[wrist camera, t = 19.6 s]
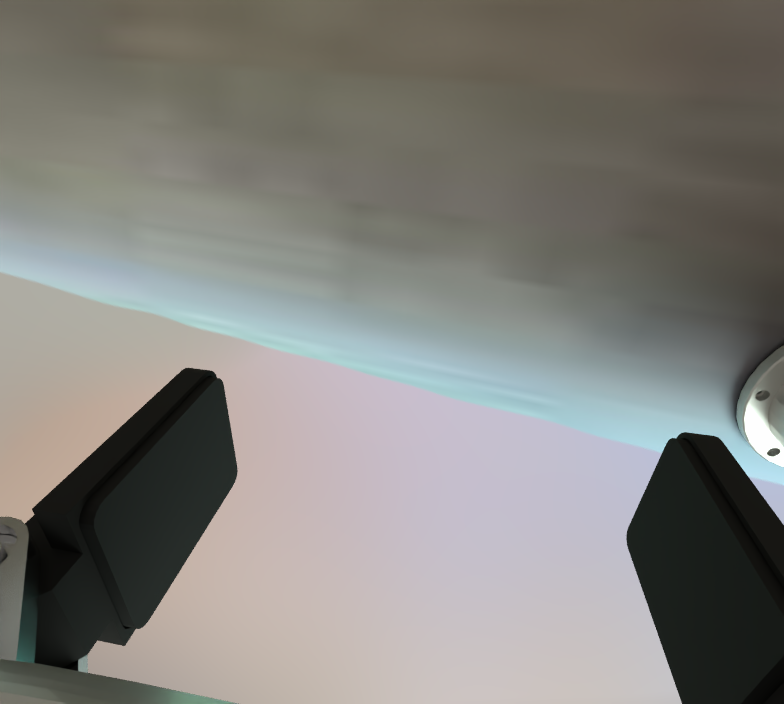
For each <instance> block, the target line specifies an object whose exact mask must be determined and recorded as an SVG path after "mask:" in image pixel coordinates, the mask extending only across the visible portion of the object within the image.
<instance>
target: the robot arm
mask: <svg viewBox="0 0 784 704" xmlns="http://www.w3.org/2000/svg"><path fill="white" fill-rule="evenodd" d="M736 418H737V422H738V426H739V430H740V432H741V433H742V435H743V437H744V438H745V440H746V441H747V442H748V443H749V445H750V446H751V447H752V448H753V449H754V451H755V452H757V453H758V454H759V455H760V456H761V457H763V458H764V459H766V460H768V461H770V462H772V463H774V464H776V465H778V466H782V467H784V345H783V346H782V347H780V348H779V349H777V350H776V351H775V352H773V353H772V354H771V355H770V356H769V357H768V358H766V359H765V360H764V361H763V362H762V363H761V364H760V365H759V366H758V367H757V369H756V370H755V371H754V372H753V373H752V374H751V376H750V377H749V379H748V380H747V382H746V384H745V386H744V387H743V389H742V391H741V394H740V397H739V400H738V403H737V415H736ZM236 477H237V463H236V457H235V451H234V445H233V439H232V433H231V427H230V421H229V415H228V409H227V403H226V397H225V391H224V385H223V382H222V380H221V379H219V378H217V377H216V374H215V373H214V372H213V371H209V370H200V369H193V368H185V369H183V370H182V371H181V372H180V373H179V374H178V375H176V376H175V377H174V378H173V379H172V380H171V381H170V382H169V383H168V384H167V385H166V386H165V387H163V388H162V389H161V390H160V392H158V393H157V394H156V395H155V396H154V397H153V398H152V399H150V400H149V401H148V402H147V403H146V404H145V405H144V406H143V407H142V408H141V409H140V410H139V411H138V412H136V413H135V414H134V415H133V416H132V417H131V418H130V419H129V420H128V421H127V422H126V423H125V424H123V425H122V426H121V427H120V428H119V429H118V430H117V431H116V432H115V433H114V434H113V435H112V436H110V437H109V438H108V439H107V440H106V441H105V442H104V443H103V444H102V445H101V446H100V447H99V448H97V449H96V451H94V452H93V453H92V454H91V455H90V456H89V457H88V458H87V459H86V460H84V461H83V462H82V463H81V464H80V465H79V466H78V467H77V468H76V469H75V470H74V471H73V472H72V473H71V474H69V475H68V476H67V477H66V478H65V479H64V480H63V481H62V482H61V483H60V484H59V485H57V486H56V488H54V489H53V490H52V491H51V492H50V493H49V494H48V495H47V496H46V497H44V498H43V499H42V500H41V501H40V502H39V503H38V504H37V505H36V506H35V507H34V508H33V509H32V510H33V512H34V514H35V515H34V516H33V517H32V518H31V519H30V520H28V521H27V522H26V523H25V524H24V523H23V522H22V521H21V520H19V519H16V518H12V517H0V704H237V703H232V702H228V701H223V700H218V699H213V698H209V697H204V696H199V695H194V694H190V693H185V692H180V691H175V690H171V689H166V688H160V687H156V686H152V685H147V684H142V683H137V682H133V681H127V680H122V679H117V678H111V677H106V676H101V675H96V674H90V673H88V663H87V662H88V659H87V654H88V653H89V651H90V650H91V649H92V647H93V646H94V644H95V643H96V641H97V640H98V641H103V642H108V643H113V644H118V645H122V646H125V645H126V643H127V642H128V640H129V638H130V637H131V635H132V634H133V632H134V631H135V629H140V628H142V627H143V626H144V625H145V624H146V623H147V622H148V620H149V619H150V618H151V616H152V615H153V613H154V611H155V610H156V608H157V606H158V605H159V603H160V602H161V600H162V598H163V597H164V595H165V594H166V592H167V590H168V589H169V587H170V586H171V584H172V582H173V581H174V579H175V578H176V576H177V574H178V573H179V571H180V570H181V568H182V566H183V565H184V563H185V562H186V560H187V558H188V557H189V555H190V554H191V552H192V550H193V549H194V547H195V545H196V544H197V542H198V541H199V539H200V537H201V536H202V534H203V533H204V531H205V530H206V528H207V526H208V525H209V523H210V522H211V520H212V518H213V516H214V515H215V514H216V512H217V510H218V509H219V507H220V506H221V504H222V502H223V501H224V499H225V498H226V496H227V494H228V493H229V491H230V490H231V488H232V486H233V484H234V483H235V480H236ZM627 546H628V549H629V552H630V555H631V558H632V561H633V564H634V567H635V569H636V572H637V575H638V578H639V580H640V584H641V587H642V590H643V592H644V595H645V598H646V601H647V603H648V606H649V610H650V613H651V615H652V618H653V621H654V624H655V627H656V630H657V632H658V636H659V638H660V641H661V644H662V647H663V650H664V653H665V655H666V658H667V662H668V664H669V667H670V670H671V673H672V676H673V679H674V682H675V684H676V687H677V690H678V693H679V696H680V699H681V701H682V704H784V525H783V524H782V522H781V521H780V520H779V518H778V517H777V516H776V514H775V513H774V511H773V510H772V509H771V507H770V506H769V505H768V503H767V502H766V500H765V499H764V498H763V496H762V495H761V494H760V493H759V491H758V490H757V488H756V487H755V485H754V484H753V483H752V481H751V480H750V479H749V477H748V476H747V475H746V473H745V472H744V470H743V469H742V468H741V466H740V465H739V464H738V462H737V461H736V460H735V458H734V457H733V455H732V454H731V453H730V451H729V450H728V449H727V447H726V446H725V445H724V443H723V442H722V441H721V440H720V439H719V438H718V437H715V436H710V435H702V434H694V433H686V432H685V433H681V434H680V435H679V436H678V437H677V439H676V438H672V439H670V440H669V441H668V442H667V444H666V446H665V448H664V450H663V453H662V455H661V457H660V459H659V462H658V464H657V466H656V468H655V471H654V472H653V475H652V477H651V479H650V481H649V483H648V486H647V488H646V490H645V492H644V494H643V497H642V499H641V501H640V503H639V505H638V508H637V510H636V512H635V514H634V517H633V519H632V521H631V523H630V525H629V527H628V531H627Z"/></svg>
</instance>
